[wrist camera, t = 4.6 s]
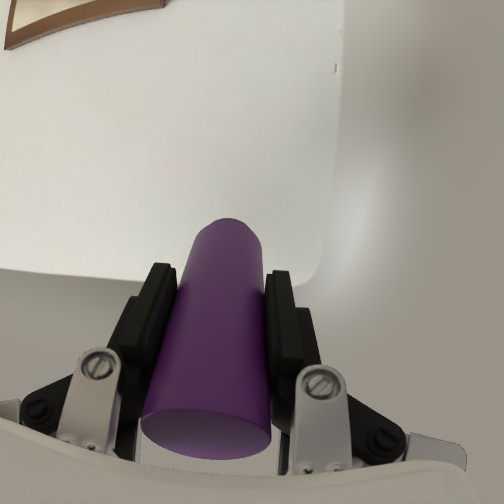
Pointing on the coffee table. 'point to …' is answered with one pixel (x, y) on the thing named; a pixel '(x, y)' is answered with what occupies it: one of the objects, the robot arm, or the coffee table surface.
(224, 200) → the coffee table surface
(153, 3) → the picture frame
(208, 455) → the marker
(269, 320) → the robot arm
